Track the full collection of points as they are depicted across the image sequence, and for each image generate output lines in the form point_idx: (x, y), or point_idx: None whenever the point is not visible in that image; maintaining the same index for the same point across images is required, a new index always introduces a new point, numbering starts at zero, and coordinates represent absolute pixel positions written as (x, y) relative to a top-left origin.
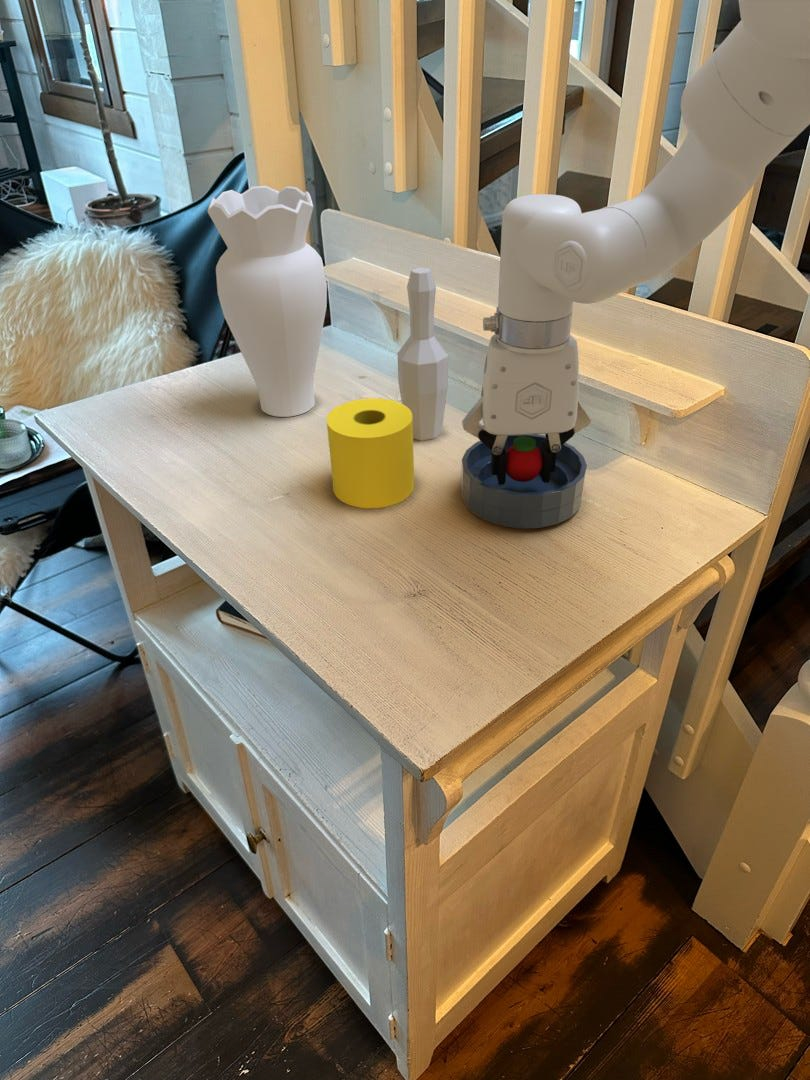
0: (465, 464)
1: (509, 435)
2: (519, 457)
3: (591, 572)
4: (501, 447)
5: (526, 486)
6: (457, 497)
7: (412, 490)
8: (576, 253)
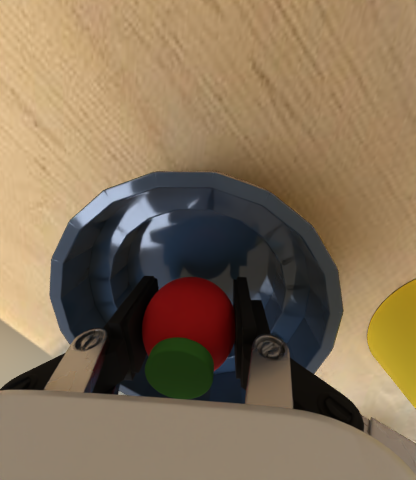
0: (331, 328)
1: None
2: (200, 321)
3: (91, 20)
4: (259, 356)
5: None
6: None
7: (380, 308)
8: None
